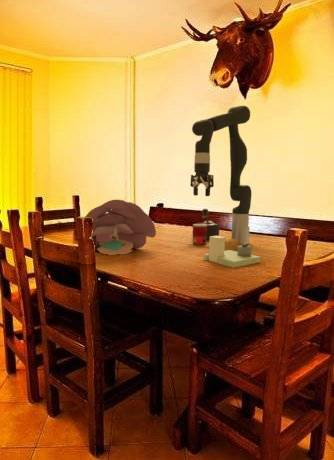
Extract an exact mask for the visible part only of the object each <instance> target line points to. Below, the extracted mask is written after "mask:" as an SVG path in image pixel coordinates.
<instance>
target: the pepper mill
mask: <svg viewBox="0 0 334 460" xmlns="http://www.w3.org/2000/svg"><path fill="white" fill-rule="evenodd" d="M201 212H202V213H203V215H202V218H206V220H205V221H202V222H201V223H199V224H206V225H207V242H208V241H209V240H210V236H220V224H219V223H218V224H217V223H216V222H214V221H213V220H209V219H210V218H209V216H210V213H209V209H208V208H203V209H202V210H201Z"/></svg>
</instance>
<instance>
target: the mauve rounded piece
mask: <svg viewBox="0 0 334 460" xmlns="http://www.w3.org/2000/svg"><path fill="white" fill-rule="evenodd" d="M85 217H91V218H92V219H93V233H92V239H93V242H94V245H95V251H96V250H97V251H98V252H99V253H101V254H103V255H106V254H108V255H107V256H117V255H116V254H120V255H121V254H122V255H127V254H129V253H132V252H133V250H134V249H132V248H136V250H137V249H141V248H144V246H145V244H146V243H147V237H148V238H151V239H152V238H155V237H156V235H157V230H156V226H155V224H154V222H153V220H152V218H151V217H150V215H148V214H147V213H146V212H145V211H144V209H143V208H141V207H140V206H139V205H138V204H135V203H133V202H131V201H130V202H129V201H125V200H122V199H111V200H109V201H106V202H104V203H103V204H101V205H99V206H97V207H94V208H91V210H90V211H88V213H87V214H86V215H85V216H84V218H85ZM120 255H119V256H120Z"/></svg>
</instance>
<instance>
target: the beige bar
mask: <svg viewBox="0 0 334 460" xmlns="http://www.w3.org/2000/svg"><path fill="white" fill-rule="evenodd" d="M227 239H228V238H227V237H226V236H220V235H219V236H210V240H209V243H208V244H209V246H208V254H209V260H208V261H209V262H212V263H216V264H218V263H217V258H218V257H223V256H224V247H225V241H226V240H227Z"/></svg>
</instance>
